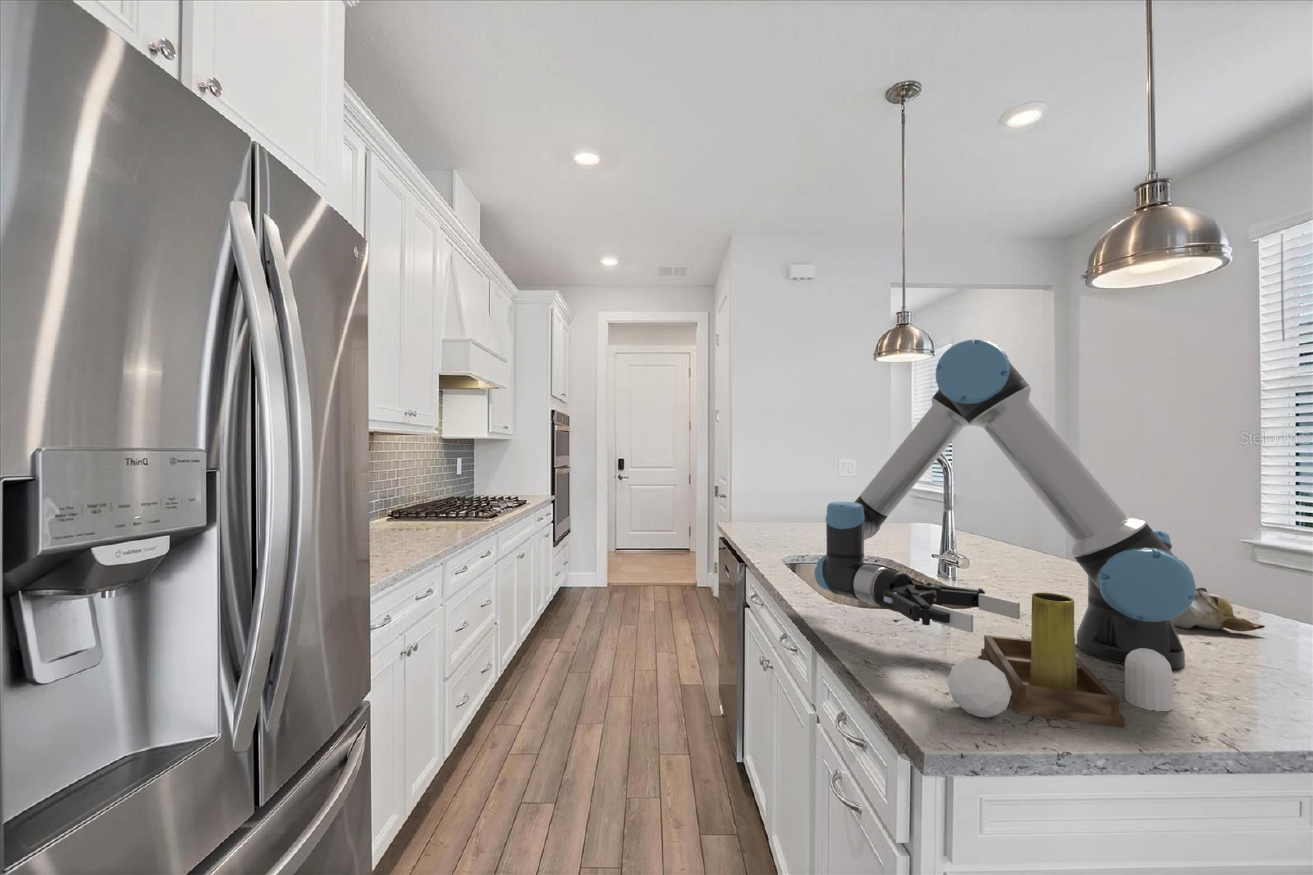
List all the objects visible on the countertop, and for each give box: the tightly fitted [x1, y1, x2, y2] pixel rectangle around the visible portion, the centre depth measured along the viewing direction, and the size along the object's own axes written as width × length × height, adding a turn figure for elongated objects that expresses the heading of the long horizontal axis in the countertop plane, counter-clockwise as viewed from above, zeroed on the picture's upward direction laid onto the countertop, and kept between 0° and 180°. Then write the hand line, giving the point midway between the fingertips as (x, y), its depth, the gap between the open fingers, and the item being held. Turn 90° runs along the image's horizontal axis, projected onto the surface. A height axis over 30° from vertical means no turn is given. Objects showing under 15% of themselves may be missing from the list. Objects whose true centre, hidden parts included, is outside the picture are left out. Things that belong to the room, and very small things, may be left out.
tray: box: [980, 634, 1126, 728], centre depth 89 cm, size 13×23×4 cm, turn 160°
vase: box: [1029, 592, 1077, 691], centre depth 84 cm, size 6×6×14 cm
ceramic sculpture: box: [1171, 587, 1266, 632], centre depth 118 cm, size 11×9×15 cm
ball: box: [946, 657, 1012, 719], centre depth 80 cm, size 8×8×8 cm
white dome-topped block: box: [1124, 648, 1174, 712], centre depth 83 cm, size 5×5×8 cm
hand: (996, 617), depth 91 cm, fingers open, 13 cm apart
